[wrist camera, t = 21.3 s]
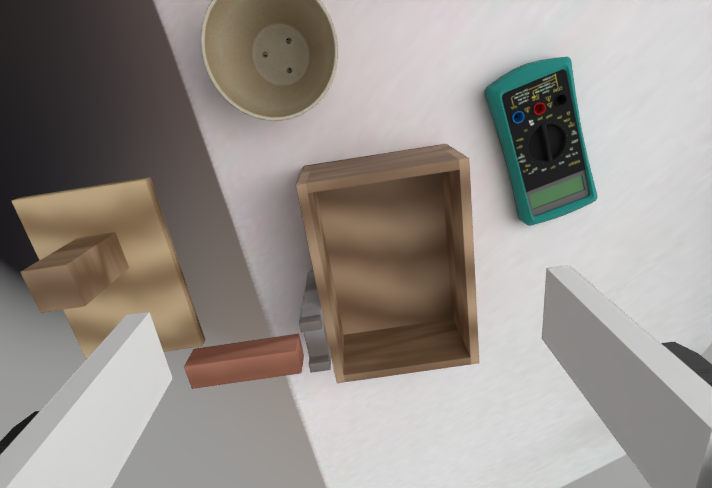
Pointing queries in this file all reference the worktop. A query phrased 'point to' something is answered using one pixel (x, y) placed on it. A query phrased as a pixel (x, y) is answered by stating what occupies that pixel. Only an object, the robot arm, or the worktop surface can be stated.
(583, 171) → the digital multimeter
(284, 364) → the reddish brown rectangular block
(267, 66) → the flower pot
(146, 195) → the wooden block with peg
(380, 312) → the brown wooden box
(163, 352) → the robot arm
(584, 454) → the worktop surface
